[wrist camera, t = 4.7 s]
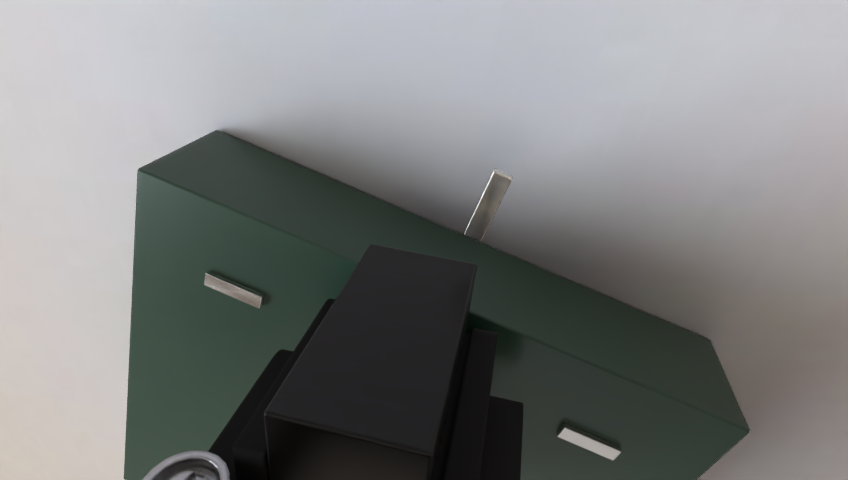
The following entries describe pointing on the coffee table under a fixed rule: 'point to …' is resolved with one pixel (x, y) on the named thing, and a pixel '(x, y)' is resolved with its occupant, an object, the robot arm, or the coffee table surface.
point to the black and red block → (375, 374)
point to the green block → (326, 276)
